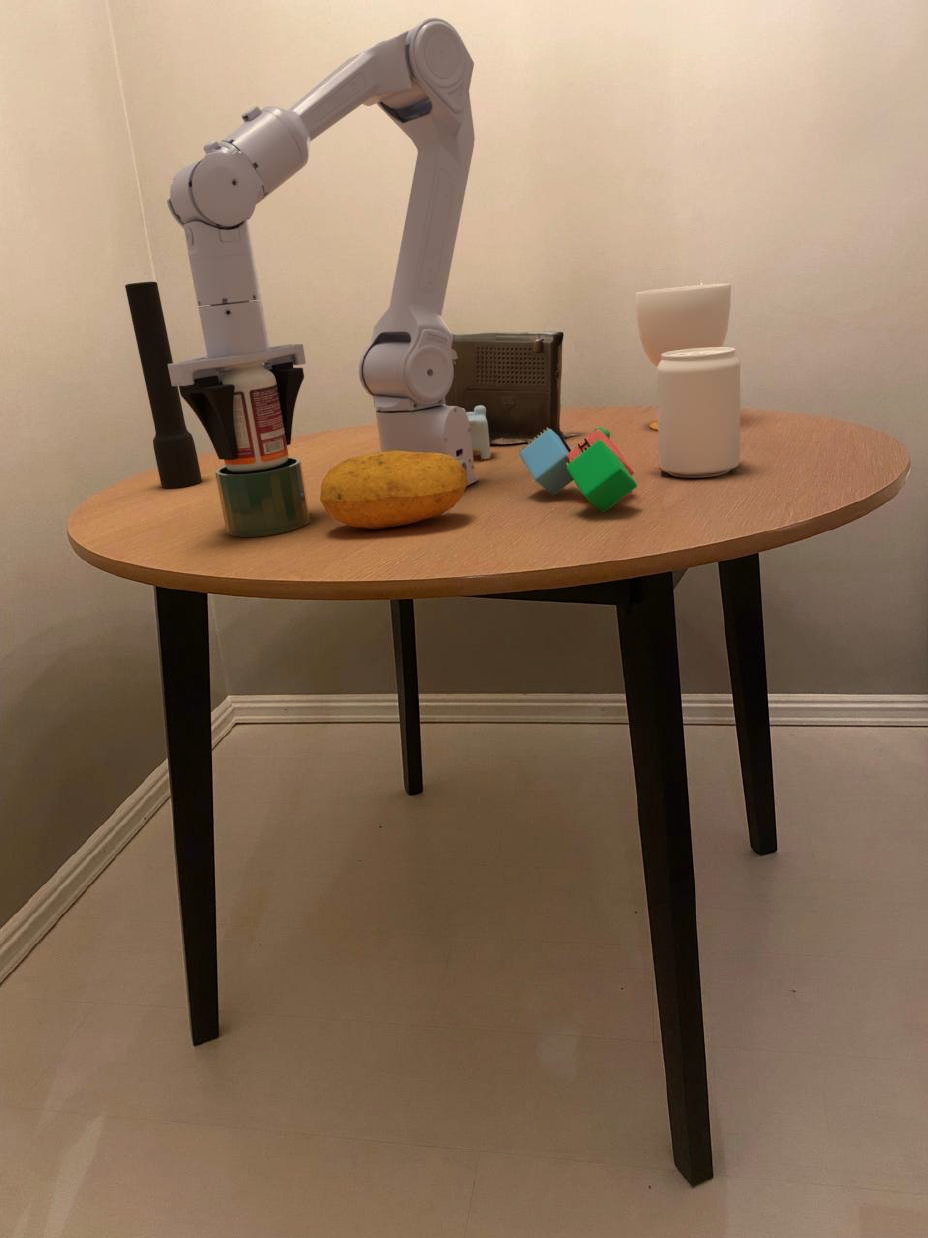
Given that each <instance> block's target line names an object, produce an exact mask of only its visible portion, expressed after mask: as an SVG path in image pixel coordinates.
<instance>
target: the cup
mask: <svg viewBox="0 0 928 1238" xmlns="http://www.w3.org/2000/svg"><path fill="white" fill-rule="evenodd" d="M634 297H635V311H636V319H637V326H638V334H639V339H640V342H641V346H642V349H643V351H644V353H645V355H646V356H647V358H648V359H649V360H650V362H651V363H652V364H653V365H654V366H655V367H658V365H659V363H660V361H661V360H662V357H661V355H662V354H663V353H666V352H670V351H676V350H683V349H693V348H707V347H724V344H725V341H726V337H727V333H728V328H729V321H730V312H731V297H732V284H731V283H710V284H709V283H708V284H696V285H687V286H686V285H685V286H684V285H683V286H676V287H664V288H657V289H656V288H655V289H648V290H642V291H636V292H635V295H634ZM649 428H650V429H652V430H655V431H658V420H657V421H654V422H652V423H650V424H649Z"/></svg>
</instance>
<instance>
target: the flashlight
mask: <svg viewBox="0 0 928 1238" xmlns="http://www.w3.org/2000/svg"><path fill="white" fill-rule="evenodd" d="M124 289H125V293H126V298H127V302H128V308H129V312H130V316H131V321H132V327H133V331H134V336H135V340H136V345H137V350H138V355H139V359H140V364H141V369H142V374H143V379H144V383H145V387H146V392H147V397H148V401H149V407H150V412H151V417H152V421H153V427H154V432H155V433H154V434H155V436H154V437H153V439H152V445H153V447H152V448H153V452H154V457H155V463H156V466H157V471H158V476H159V481H160V486H161V488H162V489H179V488H187V487H191V486H195V485H198V484H200V483H202V482H203V478H202V473H201V468H200V467H201V466H200V463H199V458H198V453H197V449H196V444H195V439H194V437H193V434H192V433H191V432H189V430H188V429H187V425H186V421H185V415H184V411H183V405H182V400H181V394H180V390H179V386H172V384H171V379H170V374H169V369H168V364H172V363H174V360H173V354H172V350H171V346H170V340H169V335H168V330H167V325H166V320H165V316H164V311H163V305H162V301H161V296H160V295H161V294H160V291H159V290H160V289H159V285H158V282H157V281H141V282H133V283H127V284H125V285H124Z"/></svg>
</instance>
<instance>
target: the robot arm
mask: <svg viewBox="0 0 928 1238" xmlns="http://www.w3.org/2000/svg"><path fill="white" fill-rule="evenodd" d="M474 67H475V62H474V60H473V58H472V56H471V54H470V52H469V51H468V48H467V47H466V45H465V42H464V41H463V39H462V37H461V36H460V34H459V32H458V30H457V29H456V28H455V27H454V26H453V25H452V24H451V23H449V22H448V21H446V20H445V19H442V18H438V17H432V18H427V19H424V20H423V21H421V22H419V23H418V24H417V25H416V26H415V27H413V28H411V29H408V30H406V31H404V32H401V33H399V34H397V35H395V36H393V37H391V38H388V39H387V40H383V41H380V42H377V43H376V44H374V46H372V47H370V48H368V49H365V50H363V51H361V52H359V53H356V54H355V55H354V56H351V57H349V58H348V59H346V60H345V61H344V62H343V63H341V64H340V65H339V66H338V67H337V68H335V69H334V70H333V71H332V72H331V73H330V74H328V75H327V76H326V77H325V78H324V79H323V80H321V81H320V82H319V83H318V84H317V85H316V86H315V87H313V88H312V89H311V90H310V91H308V92H307V93H306V94H305V95H303V96H302V97H301V98H300V99H299V100H298V101H296V103H294V104H293V105H292V106H290V108H289V109H286V108H283V107H279V106H275V105H266V106H264V107H263V108H262V109H260V107H259V106H258V105H255V106H253V107H251V108H249V109H247V111H245V112H243V113H242V114H241V118H242V120H243V122H244V123H242V124H241V125H240V126H238V127H237V128H236V129H234V130H232V132H231V133H229V134H228V135H227V136H225V137H224V138H222V140H220V141H219V142H218V141H217V140H216V139H213V140H211V141H209V142H208V143H206V144H205V145H204V146H203V151H204V153H205V154H204V157H203V158H200V159H198V160H196V161H193V162H192V163H189V164H186V165H184V166H182V167H181V168H180V169H179V170H178V171H177V172H176V173H175V175H174V176H173V178H172V183H171V184H170V188H169V198H168V199H167V201H166V202H167V207H168V209H169V212H170V215H171V216H172V217H173V219H174V220H175V221H176V222H177V224H178V225H179V226H180V227H181V228H182V229H183V231H184V236H185V242H186V246H187V256H188V261H189V266H190V272H191V278H192V281H193V288H194V292H195V298H196V302H197V307H198V313H199V319H200V323H201V324H200V325H201V329H202V335H203V340H204V345H205V351H206V355H205V356H203V357H198V358H193V359H188V360H183V361H178V362H173V363H172V364H168V369H169V374H170V379H171V384H172V386H178V390H179V395H180V397H181V398H183V400H184V401H185V402H186V403H187V405H188V406H189V407H190V408H191V410H192V411H193V412H194V414H195V415H196V417H197V418H198V420H199V422H200V423H201V426H203V428H204V430H205V433H206V434H207V436H208V438H209V440H210V442H211V444H212V447H213V449H214V451H215V454H216V456H217V459H218V460H223V461H224V460H234V459H238V447H237V441H236V434H235V428H234V419H233V400H234V390H235V386H234V385H232V384H225V385H223V383H222V381H220V382H219V379H220V378H223V377H224V375H225V374H226V372H219V373H218V371H227V370H230V369H231V368H229V366H234V365H241V364H248V363H254V362H261V361H266V360H267V362H265V363H262V365H263V367H264V368H265V369H267V370H269V371H270V372H272V373H273V375H274V376H275V379H276V383H277V390H278V396H279V402H280V408H281V414H282V420H283V426H284V431H285V438H286V444H287V446H290V445H291V444H292V431H293V421H294V413H295V409H296V402H297V399H298V394H299V392H300V389H301V386H302V384H303V381H304V380H305V379H304V378H305V373H304V368H303V367H294V366H300V365H304V364H307V362H306V361H307V360H306V357H305V356H306V354H305V348H304V344H303V343H290V344H283V345H276V346H270V344H269V339H268V338H269V337H268V332H267V326H266V321H265V314H264V308H263V307H264V306H263V301H262V296H261V291H260V290H261V289H260V285H259V278H258V271H257V267H256V260H255V252H254V247H253V244H252V237H251V231H250V224H249V220H250V219H252V216H253V214H254V213H255V210H256V206H257V205H258V204H260V203H261V202H262V201H263V200H265V199H266V198H267V197H268V196H269V195H271V194H272V193H273V192H274V191H276V190H277V189H278V188H279V187H280V186H282V185H283V184H285V183H286V182H287V181H288V180H289V179H291V178H292V177H293V176H294V175H296V174H297V173H298V172H300V170H302V169H303V168H305V166H306V165H307V163H308V162H309V157H310V145H311V142H312V141H313V140H314V139H316V138H317V137H319V136H320V135H322V134H323V133H324V132H326V131H327V130H329V129H330V128H332V127H333V126H334V125H335V124H337V123H338V122H340V121H341V120H342V119H344V118H345V117H347V116H348V115H349V114H351V113H352V112H353V111H355V110H356V109H358V108H359V107H360V106H362V105H364V106H365V107H371V106H373V105H377V107H379V108H380V109H381V110H382V111H383V113H385V114H386V115H387V116H388V117H389V119H391V121H393V122H394V124H395V125H396V126H398V127H399V128H400V129H401V131H402V132H403V133H404V134H405V135H406V136H407V137H408V138H409V139H410V140H411V142H412V143H413V145H414V146H415V148H416V151H417V155H416V160H415V164H414V165H415V166H414V170H413V177H412V183H411V187H410V193H409V199H408V203H407V210H406V216H405V220H404V226H403V230H402V235H401V236H402V237H401V242H400V247H399V252H398V258H397V264H396V270H395V275H394V280H393V287H392V290H391V295H390V296H391V297H390V302H389V306H388V308H387V310H386V311H385V312H384V314H382V316H381V317H380V319H378V321H377V323H376V324H375V325H374V327H373V332H372V336H371V339H370V342H369V344H368V346H367V347H366V348H365V349H364V351H363V352H362V354H361V357H360V360H359V363H358V377H359V381H360V383H361V385H362V387H363V389H364V391H365V392H366V393H367V394H368V395H369V396H370V397H372V399H373V406H374V408H375V416H376V423H377V424H376V425H377V432H378V438H379V440H378V441H379V447H380V452H384V451H392V450H398V451H406V452H429V453H441V454H446V455H450V456H452V457H454V458H455V459H457V460H458V461H459V463H460V464H461V465H462V467H463V468H464V469H465V470H466V472H467V479H468V483H467V485H466V487H468V486H470V485H472V484H474V483H476V482H477V481H479V475H476V472H475V461H474V450H473V449H472V439H471V429H470V423H469V419H468V417H467V414H466V412H465V411H464V410H463V409H462V408H460V407H458V406H447V405H445V404H446V402H445V396H446V394H447V393H448V391H449V389H450V388H451V385H452V382H453V376H454V369H453V363H452V357H451V347H452V341H453V335H452V334H453V332H452V331H451V329H450V328H449V327H448V326H447V324H446V323H445V321H444V320H443V317H442V315H443V310H444V305H445V300H446V295H447V289H448V283H449V280H450V279H449V278H450V273H451V269H452V263H453V257H454V252H455V247H456V243H457V237H458V231H459V227H460V221H461V215H462V211H463V205H464V201H465V195H466V190H467V185H468V180H469V174H470V168H471V163H472V159H473V154H474V149H475V141H476V140H475V139H476V137H475V128H474V119H473V112H472V103H471V96H470V88H471V82H472V78H473V73H474Z"/></svg>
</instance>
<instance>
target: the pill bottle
mask: <svg viewBox="0 0 928 1238" xmlns="http://www.w3.org/2000/svg"><path fill="white" fill-rule="evenodd" d="M265 362H267V360H266V361H261V362H254V363H248V364H241V365H234V366H229V368H231V369H230V370H227V371H218V372H217V373H219V372H226V374H225V375H224V377H223V378H220V379H219V382H220V381H222V383H223V385H225V384H232V385H234V386H235V390H234V400H233V419H234V428H235V434H236V441H237V447H238V459H234V460H223V461H224V466H226V468H227V469H228V470H230V471H234V472H247V471H257V470H264V469H270V468H274V467H277V466H280V465H282V464H284V463H285V462H287V460H288V457H289V450H288V445H287V444H286V438H285V431H284V426H283V420H282V414H281V408H280V402H279V396H278V390H277V383H276V379H275V376H274V375H273V373H272V372H270V371H269V370H267V369H265V368H264V367H263V365H264V363H265ZM262 363H263V364H262Z"/></svg>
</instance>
